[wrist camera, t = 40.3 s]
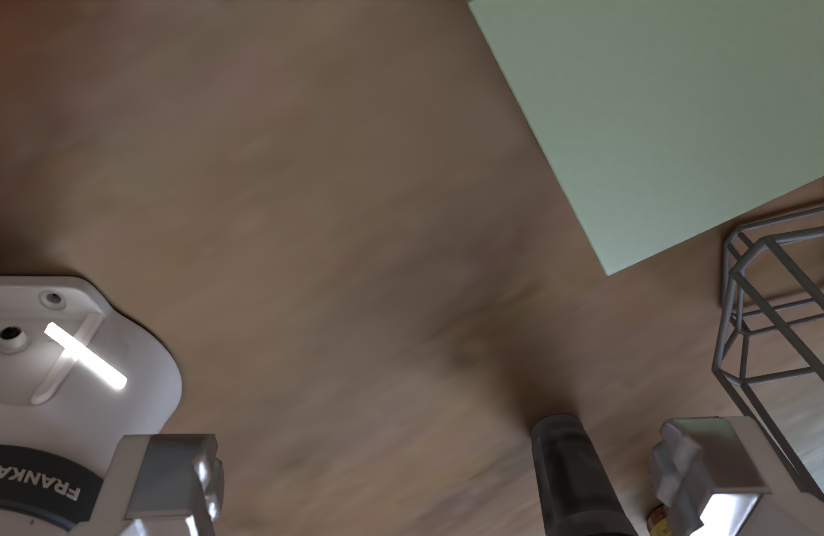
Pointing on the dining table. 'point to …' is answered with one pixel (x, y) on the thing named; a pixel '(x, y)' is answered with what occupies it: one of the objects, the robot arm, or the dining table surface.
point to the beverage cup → (574, 482)
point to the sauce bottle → (659, 522)
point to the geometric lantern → (728, 294)
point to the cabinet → (665, 108)
